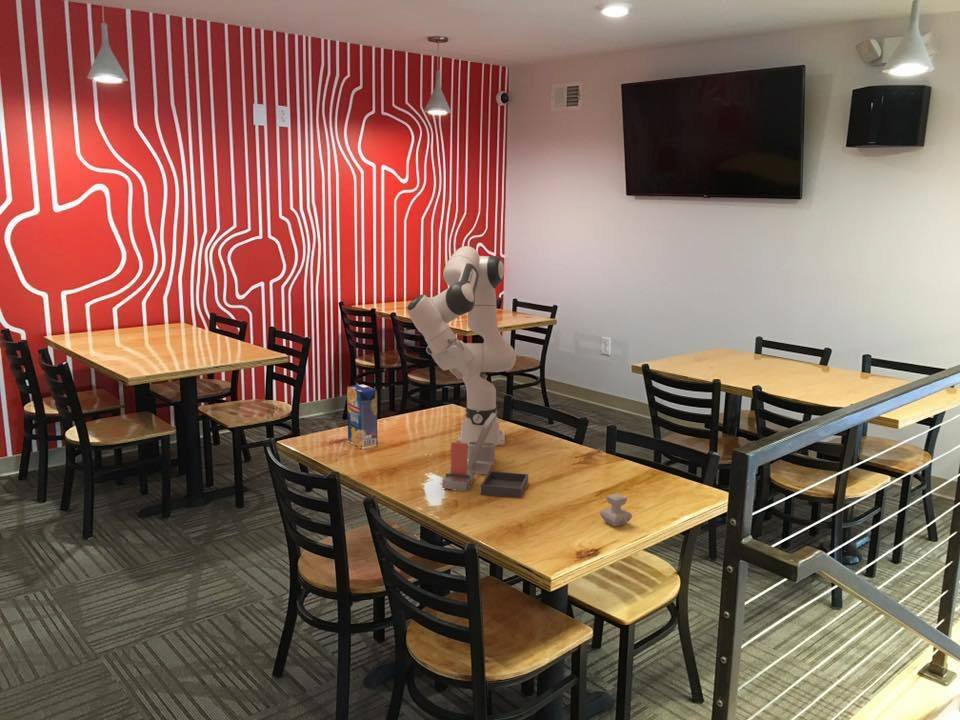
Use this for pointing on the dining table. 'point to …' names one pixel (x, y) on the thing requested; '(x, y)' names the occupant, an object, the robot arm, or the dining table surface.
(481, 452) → the phone holder
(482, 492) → the tray
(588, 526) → the dining table surface
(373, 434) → the beverage box
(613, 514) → the stamp
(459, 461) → the ticket
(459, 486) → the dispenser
